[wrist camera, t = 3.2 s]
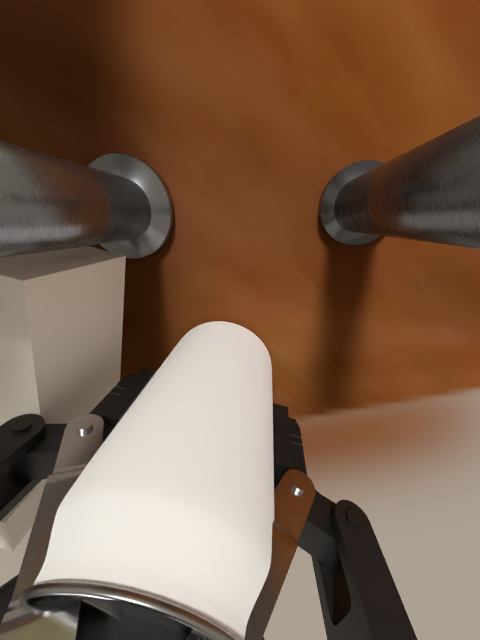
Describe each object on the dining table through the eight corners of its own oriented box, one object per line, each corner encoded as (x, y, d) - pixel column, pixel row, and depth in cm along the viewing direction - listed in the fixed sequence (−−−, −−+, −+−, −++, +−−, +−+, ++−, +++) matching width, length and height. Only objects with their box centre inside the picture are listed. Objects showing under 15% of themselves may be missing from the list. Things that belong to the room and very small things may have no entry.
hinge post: (85, 145, 12) (-470, -84, 3) (180, 169, 12) (-95, 11, 3) (86, 244, 14) (-247, 288, 5) (168, 266, 14) (-19, 350, 5)
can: (227, 415, 18) (162, 722, 7) (159, 361, 17) (-51, 626, 6) (292, 364, 16) (346, 699, 5) (218, 297, 15) (61, 535, 4)
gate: (83, 244, 12) (-159, 276, 5) (129, 257, 12) (-55, 304, 5) (87, 402, 16) (-47, 534, 9) (121, 411, 16) (12, 551, 9)
